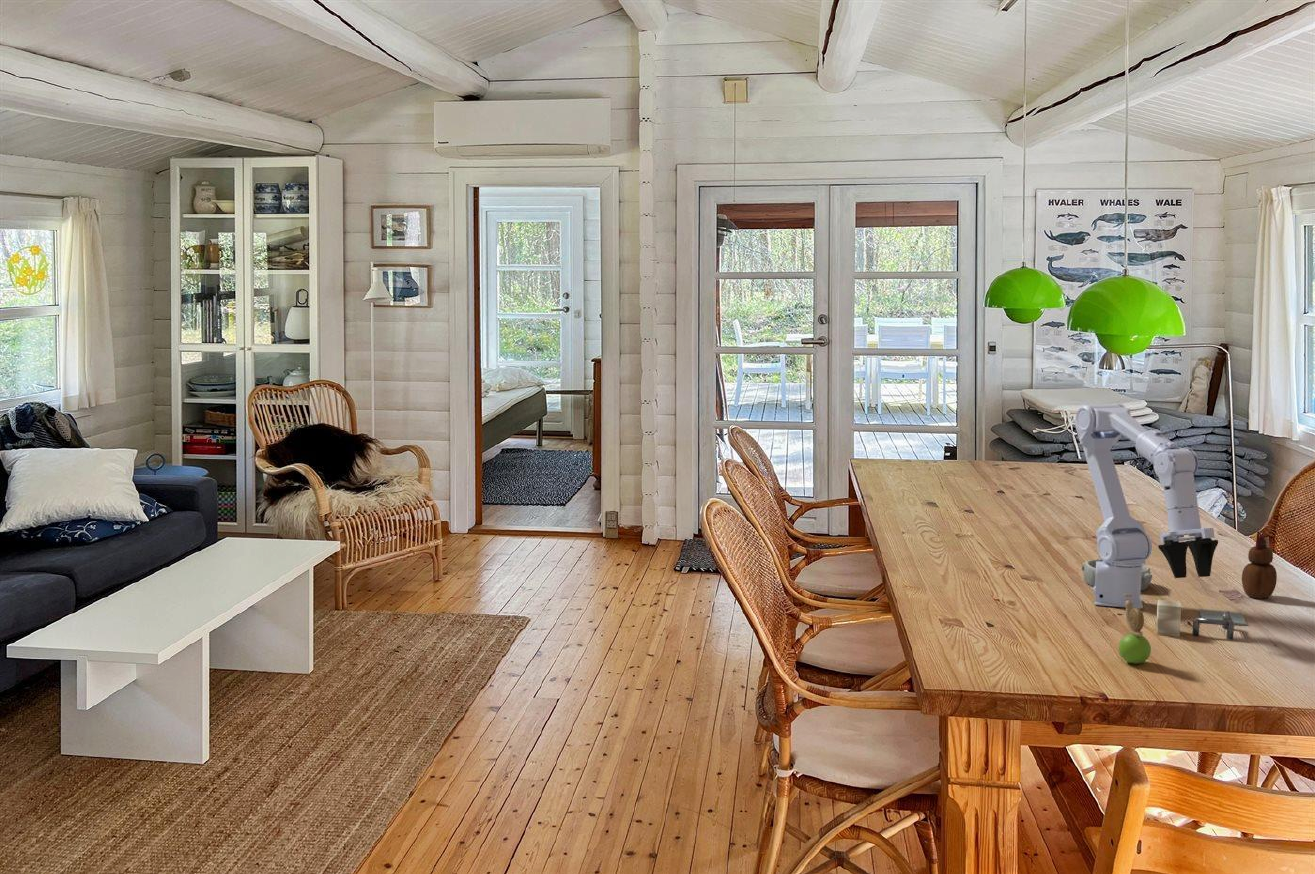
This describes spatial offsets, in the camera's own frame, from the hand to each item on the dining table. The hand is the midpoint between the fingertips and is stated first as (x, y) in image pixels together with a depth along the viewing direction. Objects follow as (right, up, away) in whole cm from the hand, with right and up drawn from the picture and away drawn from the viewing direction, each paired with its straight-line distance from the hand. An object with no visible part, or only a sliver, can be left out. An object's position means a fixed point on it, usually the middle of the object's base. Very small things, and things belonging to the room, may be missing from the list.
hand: (1192, 577), depth 218 cm
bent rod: (+5, -11, +2) cm, 12 cm away
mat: (+11, -10, +10) cm, 18 cm away
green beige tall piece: (-18, -14, -15) cm, 28 cm away
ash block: (-4, -11, +1) cm, 12 cm away
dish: (0, -7, +37) cm, 38 cm away
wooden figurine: (+27, -8, +26) cm, 38 cm away
